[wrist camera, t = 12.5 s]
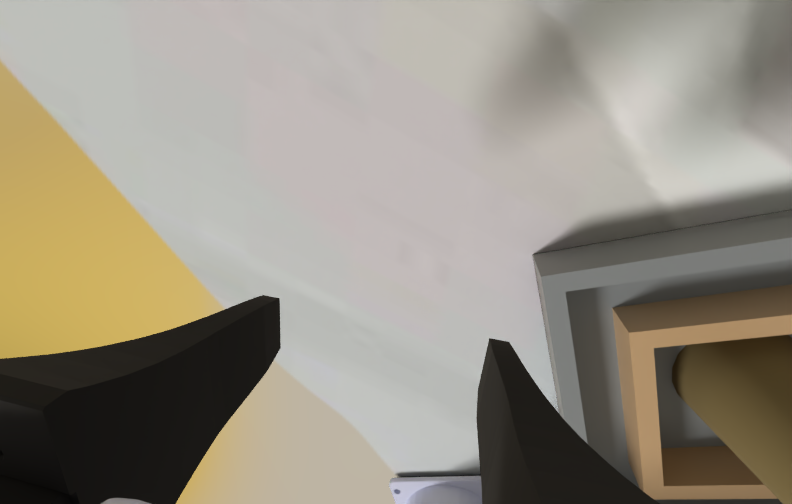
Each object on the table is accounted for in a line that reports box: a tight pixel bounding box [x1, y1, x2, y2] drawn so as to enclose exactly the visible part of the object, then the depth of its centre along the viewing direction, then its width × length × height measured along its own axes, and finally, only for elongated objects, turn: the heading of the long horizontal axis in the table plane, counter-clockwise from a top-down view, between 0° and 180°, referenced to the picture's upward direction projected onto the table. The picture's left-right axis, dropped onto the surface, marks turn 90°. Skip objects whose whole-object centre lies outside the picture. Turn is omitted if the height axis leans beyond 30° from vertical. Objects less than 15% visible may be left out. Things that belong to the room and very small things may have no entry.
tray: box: [533, 210, 792, 504], centre depth 20 cm, size 18×18×3 cm
